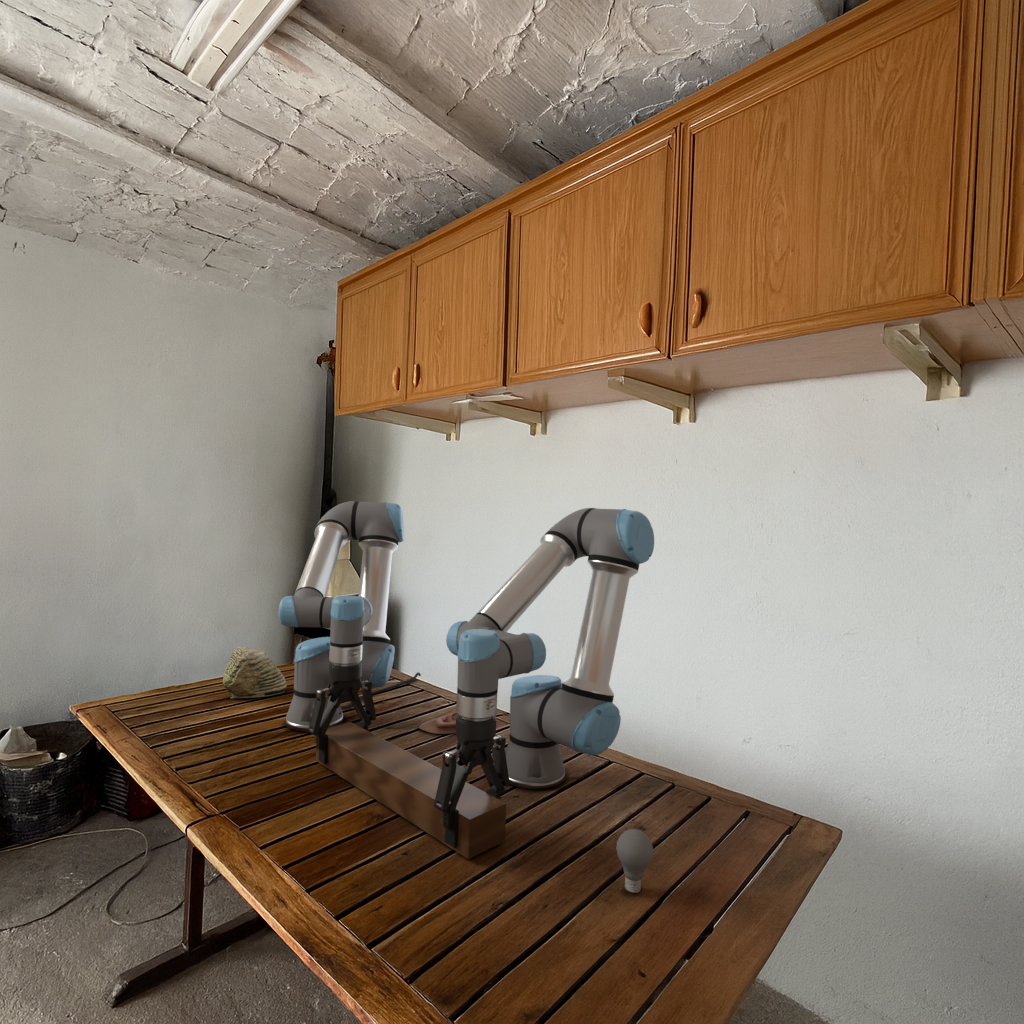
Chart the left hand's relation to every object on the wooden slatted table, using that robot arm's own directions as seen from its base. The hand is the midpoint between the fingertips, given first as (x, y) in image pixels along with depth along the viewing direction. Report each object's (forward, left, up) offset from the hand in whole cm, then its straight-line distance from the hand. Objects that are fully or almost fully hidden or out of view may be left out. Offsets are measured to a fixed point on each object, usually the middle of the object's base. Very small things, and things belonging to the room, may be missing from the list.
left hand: (342, 756), depth 150 cm
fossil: (-12, -61, -2) cm, 63 cm away
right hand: (+5, +46, 0) cm, 46 cm away
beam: (+2, +23, -1) cm, 23 cm away
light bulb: (-3, +75, -2) cm, 75 cm away
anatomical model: (-34, 0, -2) cm, 35 cm away
